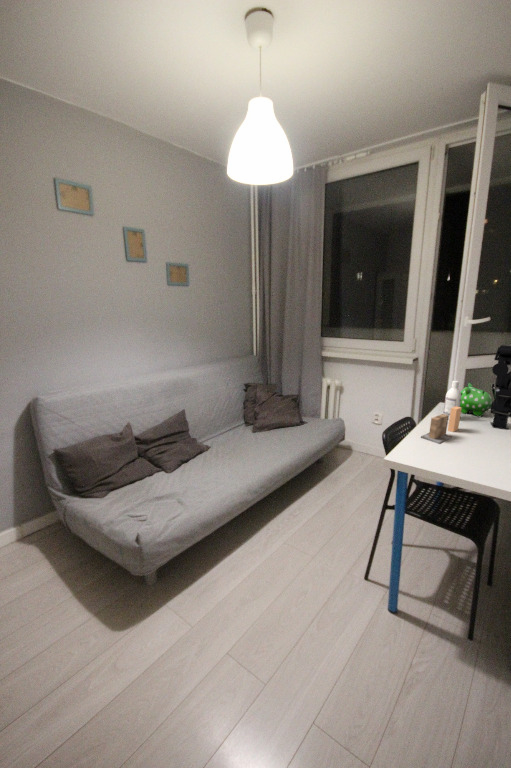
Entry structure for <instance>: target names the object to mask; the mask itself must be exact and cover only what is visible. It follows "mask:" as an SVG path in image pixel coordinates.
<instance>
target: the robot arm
mask: <svg viewBox="0 0 511 768" xmlns="http://www.w3.org/2000/svg"><path fill="white" fill-rule="evenodd" d="M493 360H494V361H497V363H495V364H494V365H493V366H492V369H491V370H492V373H493V374H494V376H495V380H494V381H492V382H491V384H490V385H491V386H490V388H491V392H492V393H491V394H492V396H493V399H494V400H492V404H491V408H490V414H493V418H492V419H493V420H492V421H490V422H489V423H490V426H492V428H495V429H496V428H497V429H503V428H505V429H506V430H510V428H509V427H508V421H509V418H511V343H509V344H500V346H498V347H497V350H496V353H495V356H494V359H493Z"/></svg>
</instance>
